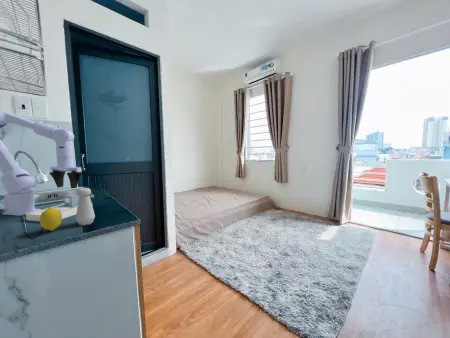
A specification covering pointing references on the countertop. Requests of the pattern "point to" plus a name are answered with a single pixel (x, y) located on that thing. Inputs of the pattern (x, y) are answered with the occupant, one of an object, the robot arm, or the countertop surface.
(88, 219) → the salt shaker
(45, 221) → the lemon
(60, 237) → the countertop surface
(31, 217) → the panel
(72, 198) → the plug
